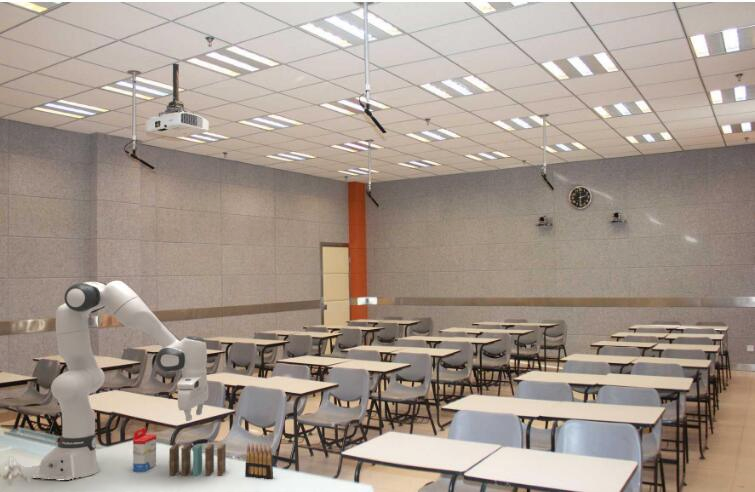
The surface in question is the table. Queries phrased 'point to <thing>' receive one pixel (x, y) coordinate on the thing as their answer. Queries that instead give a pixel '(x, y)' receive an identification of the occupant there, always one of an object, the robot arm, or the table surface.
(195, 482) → the table surface
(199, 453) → the domino
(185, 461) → the domino
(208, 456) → the domino
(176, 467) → the domino
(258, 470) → the pencil set
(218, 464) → the domino
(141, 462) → the ink box
